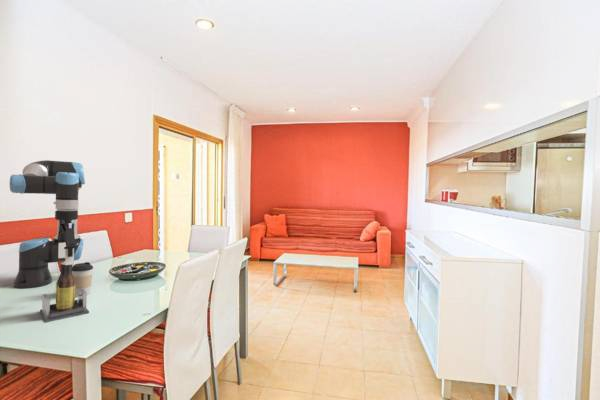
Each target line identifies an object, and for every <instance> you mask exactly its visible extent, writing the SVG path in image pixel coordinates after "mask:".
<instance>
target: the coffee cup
mask: <svg viewBox="0 0 600 400" xmlns="http://www.w3.org/2000/svg"><path fill="white" fill-rule="evenodd" d="M93 270H94V265H92V264H91V263H90V262H81V263H75V264H73V266H72V274H73V276H74V277H75V298H78V293H79V289H80V288H82V289H83V290H84V291H85V292H86V293H87V296H90V294H91V287H92V280H93Z"/></svg>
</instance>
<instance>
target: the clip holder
mask: <svg viewBox="0 0 600 400" xmlns="http://www.w3.org/2000/svg"><path fill="white" fill-rule="evenodd" d="M87 297H88V295H87V293H86V292H85V291H84V290H83V289H82V288H80V289H79V293H78V297H77V298H78V299H75V304H74V309H70V310H65V311H61V312H57V311H56V303H51V297H49V295H48V294H47V293H44V294H42V304H41V306H42V307H41V309H40V310H39V311H40V314H41V316H42V318H43V320H44V323H49V322H53V321H54V322H55V321H60V320H63V319H67V318H73V317H78V316H81V315H86V314H89V313H90V311H89V309H88V308H87Z"/></svg>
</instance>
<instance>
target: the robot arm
mask: <svg viewBox="0 0 600 400" xmlns="http://www.w3.org/2000/svg"><path fill="white" fill-rule="evenodd" d="M9 177H10V178H9V190H10V192H11V193H13V194H42V195H44V194H45V195H55V201H54V202H53V205H55V212H54V219H55V220H57V234H56V235H55V236H54V237H53V240H50V239H49V238H48V237H41V238H33V239H29V240H24V241H22V242H20V244H19V248H18V254H19V255H18V271H17V274H16V277H15V279H14V281H13V287H14V288H16V289H32V288H38V287H45V286H47V285H50V284H51V283H52V282H53V277H52V274H51V271H50V269H49V264H51V263H52V264H53V263H64V262H65V265H71V264H73V265H75V264H74V262H75V261H78V260H80V259H81V257H82V253H83V248H84V239H82V238H81V235H80V234H79V233H78V221H79V220H78V217H79V211H78V209H79V190H81V189H82V186H83V185H85V184H86V180H85V173H84V166H83V164H82V163H81V162H74V161H58V160H50V159H49V160H48V159H47V160H38V161H33V162H31V163H29V164H26V166H24V167H23V169H22V174H20V173H19V174H11V175H10V176H9Z"/></svg>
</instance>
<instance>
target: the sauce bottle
mask: <svg viewBox="0 0 600 400" xmlns="http://www.w3.org/2000/svg"><path fill="white" fill-rule="evenodd" d="M73 265H74V264H71V265H65V262H60V266H59V267H60V275H58V276H59V277H58V279H57V281H56V286H55V287H56V288H55V289H56V290H55V291H56V293H55V304H56V311H57V312H61V311H65V310H70V309H74V304H75V300H76V297H75V277H74V276H73V274H72V267H73Z"/></svg>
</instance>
